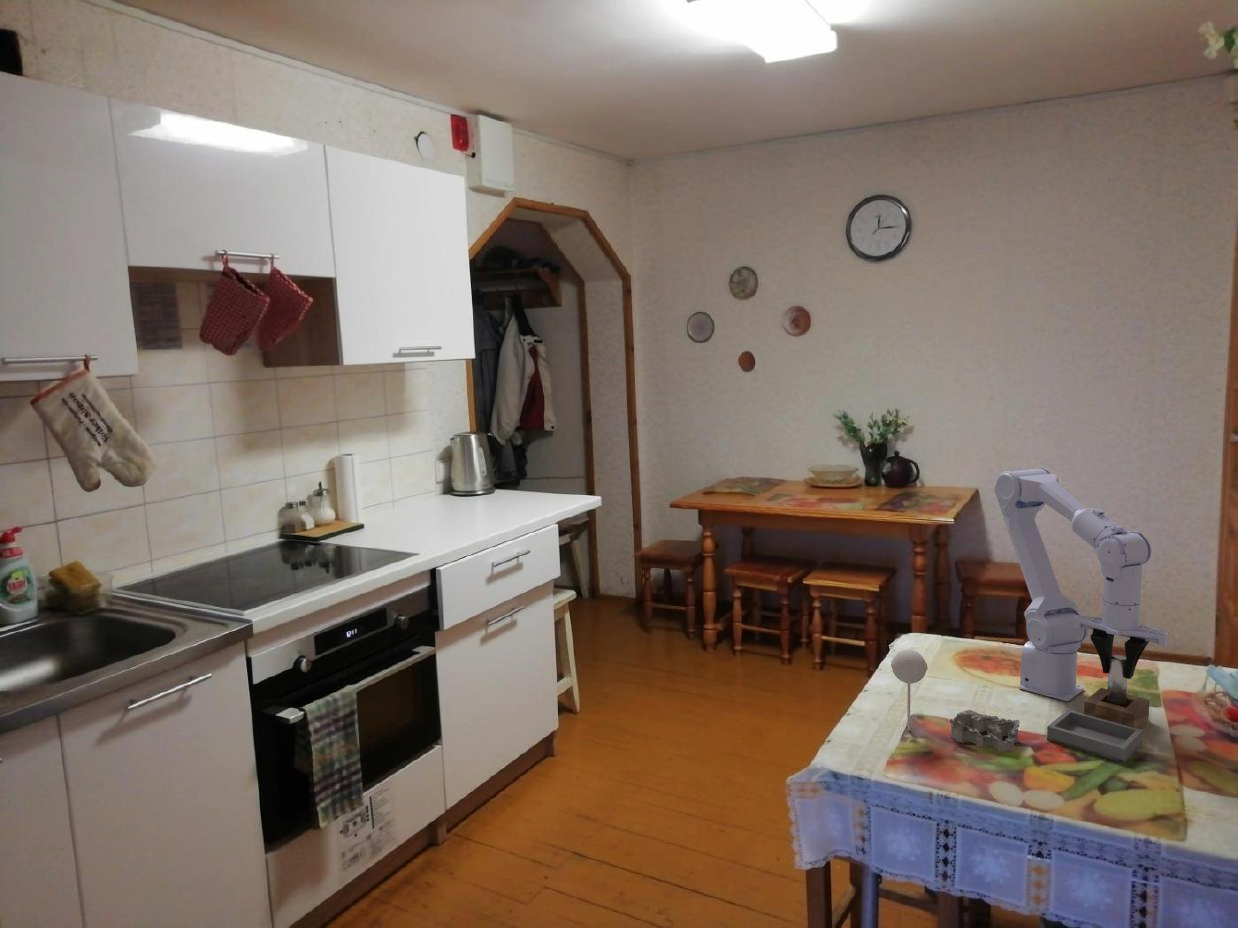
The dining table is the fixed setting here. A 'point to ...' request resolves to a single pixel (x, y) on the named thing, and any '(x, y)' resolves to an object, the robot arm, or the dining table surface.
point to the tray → (1095, 735)
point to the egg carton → (973, 723)
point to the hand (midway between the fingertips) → (1118, 674)
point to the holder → (1118, 709)
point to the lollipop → (909, 671)
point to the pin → (1117, 680)
